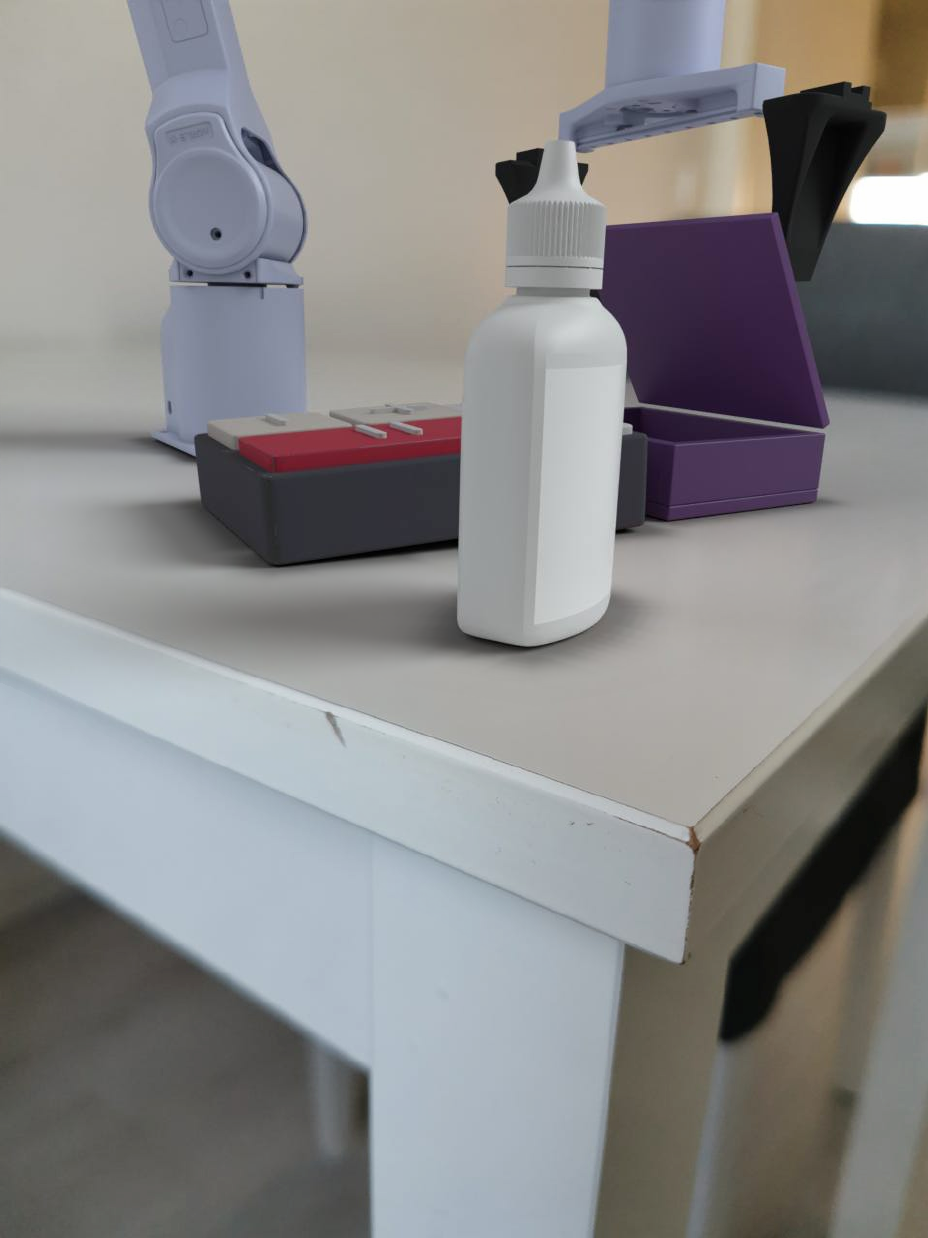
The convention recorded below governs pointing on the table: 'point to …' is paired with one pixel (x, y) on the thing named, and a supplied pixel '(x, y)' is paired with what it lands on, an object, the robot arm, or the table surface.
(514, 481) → the eye dropper bottle
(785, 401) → the purple lid
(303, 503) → the grey and red box
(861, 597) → the table surface
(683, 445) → the purple box
